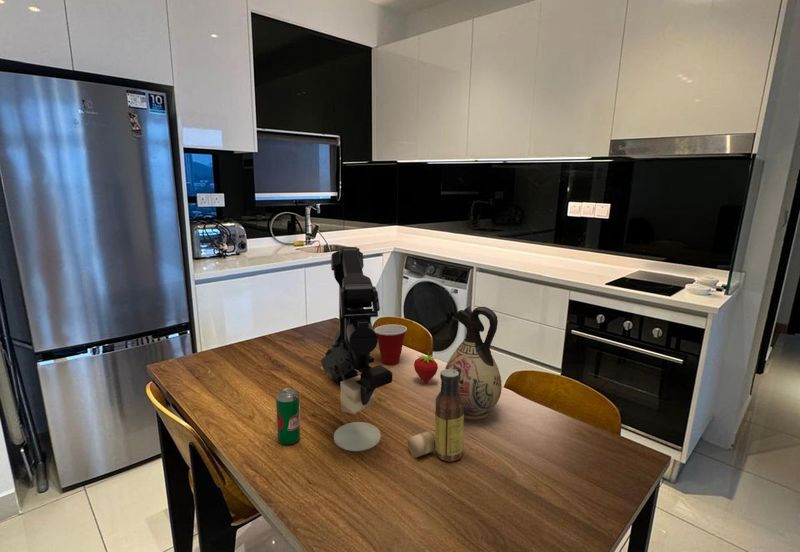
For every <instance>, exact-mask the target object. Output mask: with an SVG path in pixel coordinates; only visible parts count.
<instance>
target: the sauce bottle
mask: <svg viewBox="0 0 800 552" xmlns="http://www.w3.org/2000/svg"><path fill="white" fill-rule="evenodd" d="M439 375H440V376H439V377H440V392H439V393H437V394H438V395H436V398H435V411H434V440H435V450H434V451H435V453H436V454H435V455H436V457H438V458H439V459H440V460H442V461H444V462H448V463H449V462H450V463H451V462H456V461H458V460H460V459H461V458H462V455H463V449H464V420H465V418H464V411H463V402H462V400H461V397H460V395H459V392H458V391H459V389H458V380H459V372H458V371H456V370H454V369H445V368H444V369H442V370H441V371H440V374H439Z"/></svg>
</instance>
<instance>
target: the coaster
mask: <svg viewBox="0 0 800 552" xmlns="http://www.w3.org/2000/svg"><path fill="white" fill-rule="evenodd" d="M333 441H334V443H335V445H336V446H338V448H340V449H342V450H345V451H349V452H361V451H362V452H363V451H367V450H370V449H373V448H374V447H375V446H377V445H378V443H380V441H381V431H380V429H379V428H378V427H377V426H376V425H373V424H372V423H368V422H363V421H354V422H349V423H345V424H343V425H341V426H339V427H338V428H337V429H336V430H335V432H334V434H333Z"/></svg>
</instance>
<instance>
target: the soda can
mask: <svg viewBox="0 0 800 552" xmlns="http://www.w3.org/2000/svg"><path fill="white" fill-rule="evenodd" d="M275 401H276V403H275V404H276V423H277V424H276V427H277V441H278V442H279V443H281V444H282V445H285V446H289V445H294V444H296V443H298V441H299V440H300V438H301V409H300V410H299V405H300V395H299V393H298V390H297V389H294V388H289V387H288V388H284V389H281V390H279V391H278V393H277V395H276V397H275Z"/></svg>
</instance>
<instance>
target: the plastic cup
mask: <svg viewBox="0 0 800 552" xmlns="http://www.w3.org/2000/svg"><path fill="white" fill-rule="evenodd" d="M374 330H375V333H376V335H377V338H378V342H377V344H378V348H379V353H380V360H381V363H382V364H383V365H386V366H395V365H398V364H399V362H400V360H401V356H402V355H401V354H402V350H403V345H404V340H405V336H406V333H407V330H408V327H407V326H405V325H402V324H393V323H392V324H382V325H380V326H379V325H378V326H377V327H375V328H374Z"/></svg>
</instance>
